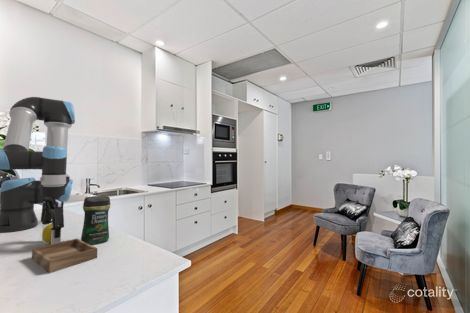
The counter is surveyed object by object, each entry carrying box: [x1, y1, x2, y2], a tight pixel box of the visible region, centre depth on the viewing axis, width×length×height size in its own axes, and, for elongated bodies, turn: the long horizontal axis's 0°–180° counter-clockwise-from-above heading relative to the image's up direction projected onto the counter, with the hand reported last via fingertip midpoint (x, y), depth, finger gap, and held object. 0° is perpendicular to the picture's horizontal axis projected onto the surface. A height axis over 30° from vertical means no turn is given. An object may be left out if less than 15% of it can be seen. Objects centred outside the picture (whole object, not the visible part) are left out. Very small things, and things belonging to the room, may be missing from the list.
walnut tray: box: [31, 238, 98, 274], centre depth 75 cm, size 16×13×3 cm
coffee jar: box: [80, 195, 111, 246], centre depth 91 cm, size 10×8×19 cm
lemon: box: [41, 223, 53, 245], centre depth 88 cm, size 6×6×8 cm
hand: (50, 243), depth 87 cm, fingers open, 9 cm apart
